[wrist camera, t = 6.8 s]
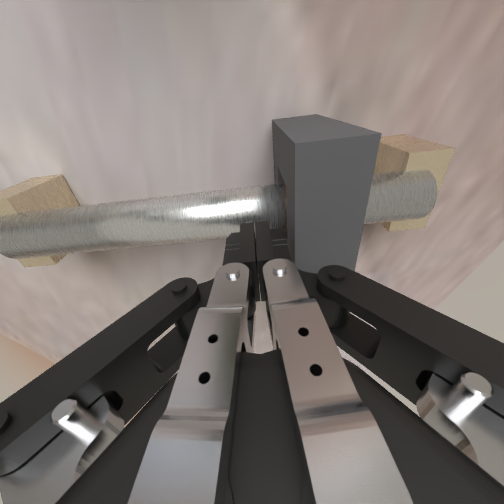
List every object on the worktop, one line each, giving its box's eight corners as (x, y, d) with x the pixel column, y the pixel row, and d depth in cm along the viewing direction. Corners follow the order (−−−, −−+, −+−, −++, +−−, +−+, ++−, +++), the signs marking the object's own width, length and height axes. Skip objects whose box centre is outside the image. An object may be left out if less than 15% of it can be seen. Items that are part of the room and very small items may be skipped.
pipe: (100, 281, 24) (56, 338, 19) (32, 178, 18) (-64, 215, 12) (373, 256, 23) (413, 308, 17) (403, 134, 17) (482, 155, 11)
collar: (277, 233, 21) (294, 312, 13) (272, 119, 15) (295, 143, 8) (310, 230, 20) (347, 307, 13) (316, 114, 15) (381, 133, 8)
